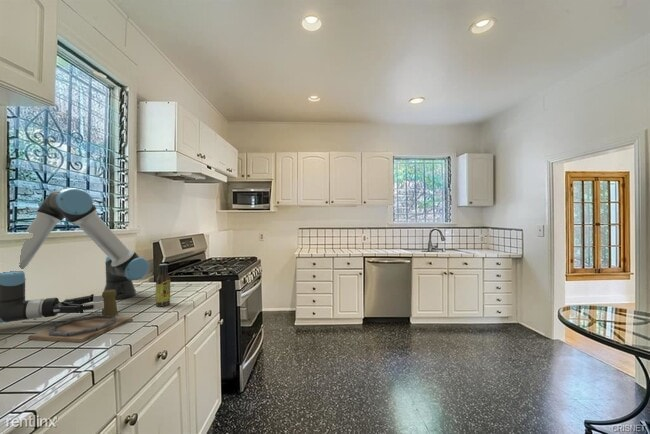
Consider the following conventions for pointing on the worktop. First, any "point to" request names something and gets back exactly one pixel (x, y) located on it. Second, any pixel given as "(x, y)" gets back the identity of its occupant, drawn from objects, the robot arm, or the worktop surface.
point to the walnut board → (80, 326)
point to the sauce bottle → (163, 286)
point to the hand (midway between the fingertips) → (107, 300)
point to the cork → (109, 303)
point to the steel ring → (55, 333)
